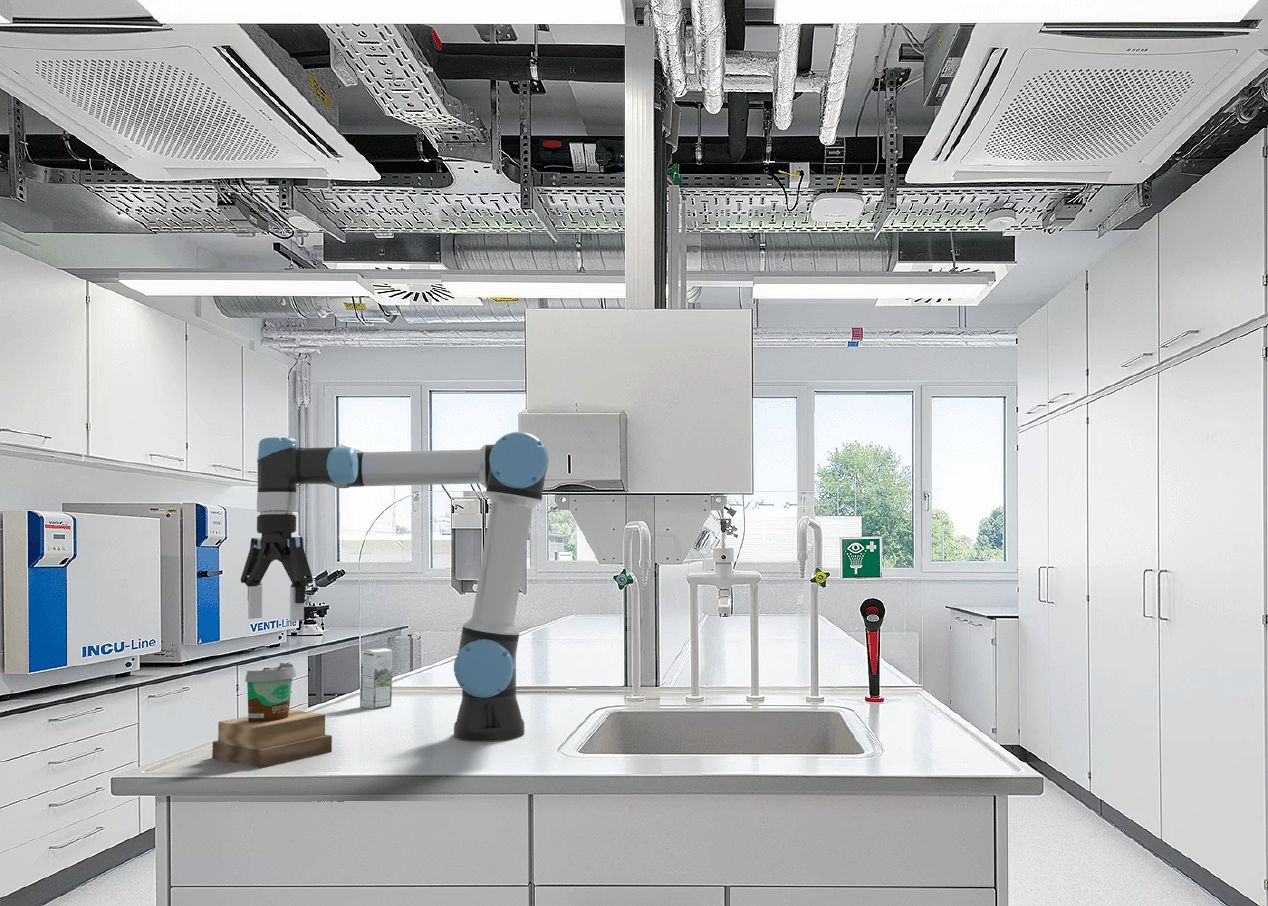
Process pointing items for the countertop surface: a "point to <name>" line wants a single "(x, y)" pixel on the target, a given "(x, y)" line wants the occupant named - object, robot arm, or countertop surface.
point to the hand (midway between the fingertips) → (275, 619)
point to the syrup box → (376, 678)
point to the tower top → (271, 730)
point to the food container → (269, 693)
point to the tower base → (273, 752)
